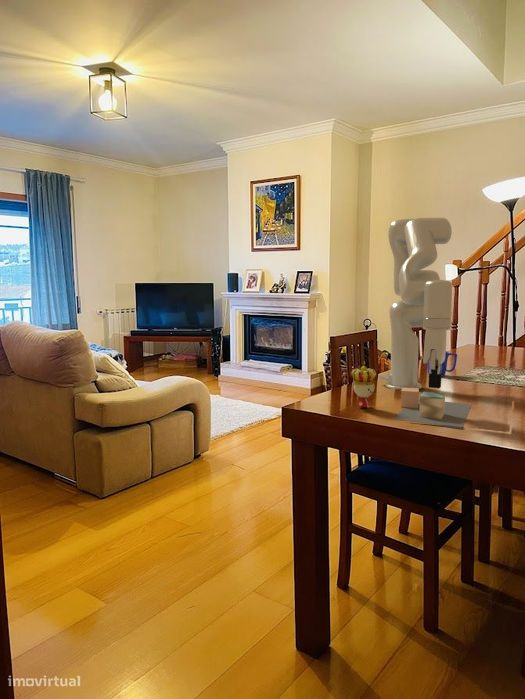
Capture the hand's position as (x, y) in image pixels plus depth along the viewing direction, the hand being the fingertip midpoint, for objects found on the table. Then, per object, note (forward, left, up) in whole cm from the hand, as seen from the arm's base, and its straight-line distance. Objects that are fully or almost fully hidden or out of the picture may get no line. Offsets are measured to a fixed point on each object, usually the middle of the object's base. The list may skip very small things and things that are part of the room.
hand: (434, 387), depth 147 cm
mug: (-7, +66, -8) cm, 67 cm away
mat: (0, +2, -8) cm, 8 cm away
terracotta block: (-8, +6, -8) cm, 12 cm away
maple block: (0, -3, -2) cm, 4 cm away
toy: (-20, -3, -8) cm, 22 cm away
